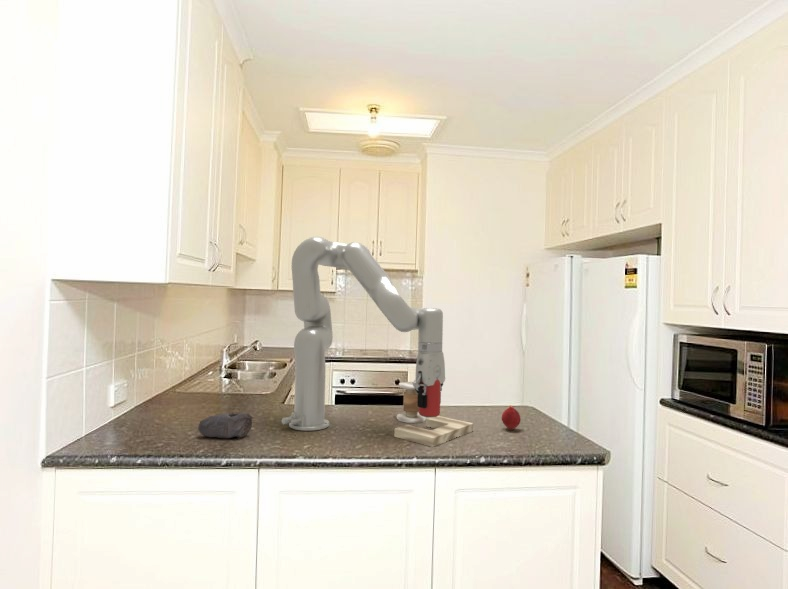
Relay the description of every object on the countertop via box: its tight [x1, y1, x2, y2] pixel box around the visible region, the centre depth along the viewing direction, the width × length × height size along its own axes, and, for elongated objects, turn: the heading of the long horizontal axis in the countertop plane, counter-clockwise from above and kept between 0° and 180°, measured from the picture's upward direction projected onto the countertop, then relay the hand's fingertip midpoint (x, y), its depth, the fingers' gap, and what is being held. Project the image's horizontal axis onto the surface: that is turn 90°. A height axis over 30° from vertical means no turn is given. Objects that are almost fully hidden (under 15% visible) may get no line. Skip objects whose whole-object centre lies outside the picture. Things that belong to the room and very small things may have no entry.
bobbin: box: [396, 381, 427, 424], centre depth 165 cm, size 10×10×12 cm
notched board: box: [394, 415, 474, 448], centre depth 148 cm, size 22×14×2 cm, turn 140°
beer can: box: [418, 378, 441, 418], centre depth 150 cm, size 7×7×12 cm
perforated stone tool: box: [197, 412, 253, 439], centre depth 139 cm, size 15×5×7 cm, turn 91°
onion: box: [501, 404, 521, 431], centre depth 155 cm, size 6×6×8 cm
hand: (429, 405), depth 150 cm, fingers closed on beer can, 6 cm apart
